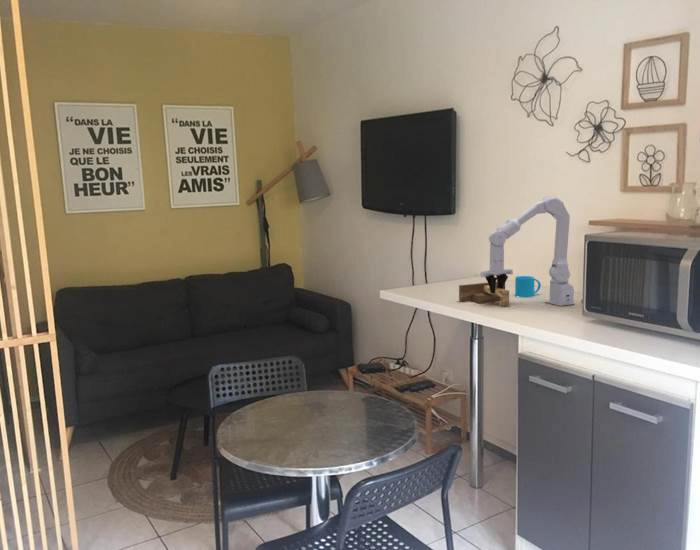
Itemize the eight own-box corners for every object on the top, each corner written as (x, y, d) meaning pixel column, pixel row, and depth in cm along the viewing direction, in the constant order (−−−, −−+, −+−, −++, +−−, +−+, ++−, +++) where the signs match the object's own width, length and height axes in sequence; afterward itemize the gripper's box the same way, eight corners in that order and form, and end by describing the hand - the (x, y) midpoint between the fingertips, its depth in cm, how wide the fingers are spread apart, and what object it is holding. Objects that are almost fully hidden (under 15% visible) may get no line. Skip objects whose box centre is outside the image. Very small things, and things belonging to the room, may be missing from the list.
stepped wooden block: (513, 299, 271) (513, 283, 270) (469, 304, 263) (469, 288, 262) (502, 296, 279) (502, 281, 278) (459, 301, 271) (459, 285, 270)
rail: (509, 305, 258) (509, 290, 257) (502, 306, 257) (503, 291, 256) (489, 299, 271) (489, 285, 270) (483, 299, 270) (483, 285, 269)
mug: (521, 297, 275) (521, 279, 274) (511, 294, 283) (511, 276, 282) (545, 295, 278) (545, 277, 277) (535, 292, 286) (535, 274, 285)
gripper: (505, 258, 268) (505, 289, 270) (476, 260, 262) (476, 292, 265) (515, 259, 261) (515, 292, 263) (485, 262, 256) (485, 295, 258)
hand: (496, 292), depth 263 cm, fingers closed on rail, 3 cm apart
